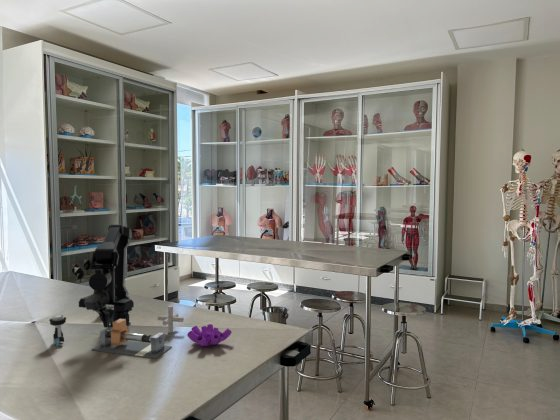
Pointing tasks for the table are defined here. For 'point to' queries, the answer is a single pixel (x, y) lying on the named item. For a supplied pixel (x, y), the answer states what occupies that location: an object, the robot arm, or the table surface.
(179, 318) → the pipe connector
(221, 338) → the purple tube cluster
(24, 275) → the table surface
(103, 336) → the linear slide rail
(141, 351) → the grey base plate
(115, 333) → the collar
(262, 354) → the table surface
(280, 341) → the table surface
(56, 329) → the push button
